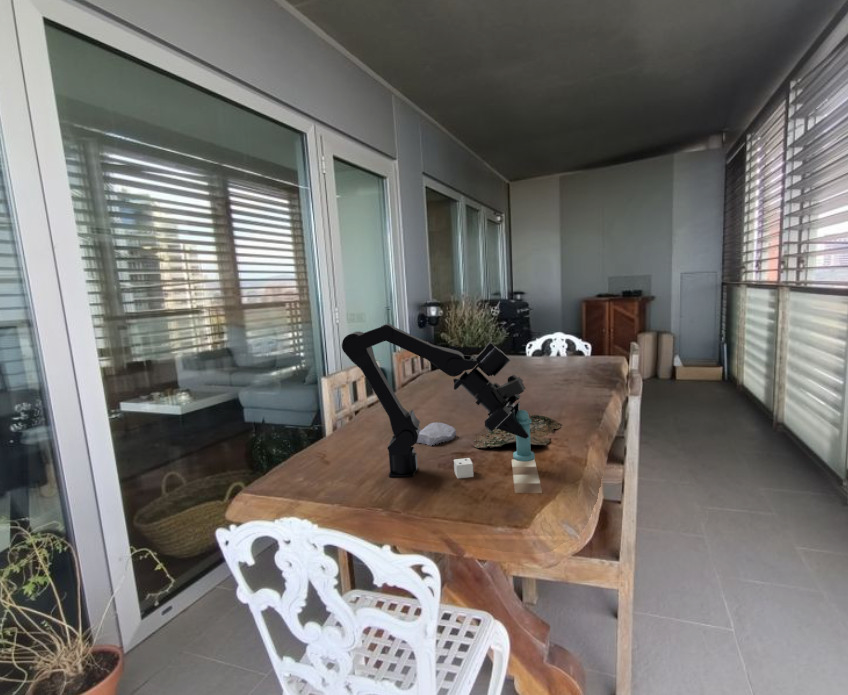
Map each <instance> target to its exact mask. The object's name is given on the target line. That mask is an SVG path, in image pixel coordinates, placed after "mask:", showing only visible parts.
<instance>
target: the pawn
mask: <svg viewBox="0 0 848 695" xmlns="http://www.w3.org/2000/svg"><path fill="white" fill-rule="evenodd" d="M516 419H517V421H518V422H519V423H520V424H521V426H522V427H523V428H524V429H525V431H526V432H527V433H528V435H529V436H528V437H527V438H526V439H525V438H522V437H520V436H517V435H516V443H515V444H516V445H515V446H516V451H514V452H513V453H512V454H513V456H512V458H513V459H515V460H517V461H522V462H527V461H532V460H534V459H536V457H535V456H536V455H535V452H534V451H532V450H531V445H532V444H531V442H530V424H531V419H530V416H529V412H528V411H527V410H525V409H519V411H518V412H517V414H516Z"/></svg>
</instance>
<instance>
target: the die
mask: <svg viewBox="0 0 848 695" xmlns="http://www.w3.org/2000/svg"><path fill="white" fill-rule="evenodd" d="M453 468H454V474H455V476H456V478H457V479H466V478H474V464H473V461H472V460H471V458H470V457H465V458H457V459H456V458H454V459H453Z"/></svg>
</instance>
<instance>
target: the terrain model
mask: <svg viewBox="0 0 848 695" xmlns="http://www.w3.org/2000/svg"><path fill="white" fill-rule="evenodd" d="M529 418H530V419H531V424H530V429H531V432H530V442H531V445H536V446H537V445H538V446H541V447H544V446H547V444H550V443H551V441H550V439H552V438H550V436H551V435H550V434H555V431H554V429H555V430H556V429H557V430H558V429H560V428H561V427H562V425H563V424H562V423H559V422H558V421H556V420H555V419H552V418H550V417H548V416H545V415H544V416H543V415H539V414H535V415H531V414H530V415H529ZM559 425H560V426H559ZM487 430H488V429H485V431H487ZM482 435H483V436H482ZM482 435H477V437H476V439H478V438H479V439H478V440H476V439H474V440H473V441H474V442H473V443H475V445H473V447H475V448H477V449H479V448H481V449H487V448H488V447H489V448H490V449H492V448H497V447H499V448H502V446H503V445H506V444H513V443H515V444H516V435H514V434H512V433H509V432H506V431H503V430H500V429H496V428H495V429H494V430H493V431H492V432H490V431H489V430H488V431H487V433H486V434H482ZM546 436H548V437H549V438H548V437H546ZM478 442H479V443H478ZM480 443H483V446H481V447H479V446H480Z"/></svg>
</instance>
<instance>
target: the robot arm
mask: <svg viewBox="0 0 848 695" xmlns="http://www.w3.org/2000/svg"><path fill="white" fill-rule="evenodd" d="M384 342H388V343H390V344H393V345H394V346H397V347H399V348H401V349H403V350H405V351H408V352H410V353H412V354H414V355H417V356H419V357H420V358H423V359H425V360H426V361H429V362H430V363H431V364H432V365H434V367H436V368H437V369H439V370H440V371H442V372H443V373H444V374H445V375H447V376H449V377H453V389H454V391H455V390H458V389H459V388H460V387H461V386H462V387H463V389H465V391H467V392H468V393H469V394H470V395H471V397H473V398H474V399H475V400H476V401H475V404H476V405H477V406H480V405H481V406H483V407H484V409H485V410H486V411H487V412H488V413H487V416H488V417H487V418H486V419H485V420H484V428H486V430H489V431H490V432H492V431H493V430H494V429H495V428H496V429H500V430H503V431H506V432H509V433H512V434H514V435H517V436H520V437H522V438H525V439H526V438H527V437H528V436H529V435H528V433H527V432H526V431H525V429H524V428H523V427H522V426H521V424H520V423H519V422H518V421H517V419H516V414H517V412H518V411H519V410H520V404H521V402H520V401H518V400H520V398H521V394H522V393H524V391H525V390H526V387H525V385H524V383H523V382H524V380H523V379H521V376H516V374H512V375H510V376H508V377H507V382H505V383H503V384H501V385H500V384H499V383H497V382H494V383H493V382H492V381H490V379H488V378H487V376H488V377H492V376H494V377H496V376H497V375H498V374H499V373H500V372H501V371H502V370H503V369H504V368H505V367H506V365H508V364H509V362H510V361H511V359H510V357H508V355H506V354H505V353H504V352H503V351H502V350H501V349H500V348H498V347H497V346H496V345H494V344H493V343H492V342H488V343H487V344H486V345H485V347H484V348H483V350H481V352H480V353H479V354H478V355H477V356H475V355H467V354H466V355H465V354H463V353H462V352H460V350H455V349H452V348H448V347H445V346H444V347H443V346H439V345H435V344H432V343H430V342H428V341H426V340H423V339H421V338H419V337H417V336H415V335H412V334H411V333H408V332H407V331H404V330H401V329H400V328H397V327H396V326H394V325H393V324H391V323H385V324H383V325H381V326H379V327H377V328H374V329H372V330H368V331H366V332H362V331H354V332H351V333H350V334H347V335H346V336H345V337H344V338H343V339H342V343H341V349H342V351H343V353H344V354H345V355H346V356H347V357H348V359H349V360H350V361H351V362H352V363H353V364H354V365H356V366H357V367H358V368H359V369H360V371H361V372H362V374H363V375H364V377H365V379H366V380H367V382H368V383H369V386H370V387H371V389H372V391H373V393H374V394H375V396H376V398H377V399H378V400H379V403H380V404H381V406H382V408H383V410H384V411H385V413H386V415H387V416H388V418H389V422H390V427H391V431H392V434H393V436H391V439H390V442H389V443H388V445H387V447H386V448H387V451H388V461H389V462H388V464H389V473H388V477H391V478H393V477H399V478H400V477H408V478H409V477H414V476H415V474H416V472H417V471H418V468H419V464H418V463H419V462H418V453H417V452H416V451H415V446H414V445H415V444H417V443H416V442H417V439H418V436H419V432H420V430H421V428H420V424H421V421H420V420H419V419H418V417H416V414H415V411H414V409H411V410H409V411H408V410H406V409H405V408H404V407H403V405H402V403H401V401H400V400H399V399H398V396H397V395H396V393H395V392H394V390H393V388H392V387H391V385H390V383H389V381H388V380H387V378H386V376H385V374H384V372H383V371H382V369H381V368H380V366H379V364H378V362H377V361H376V358H375V352H374V349H373V347H374V346H376V345H378V344H381V343H384ZM479 369H480V370H481V371H480V370H479ZM469 370H470V372H469ZM482 372H483V373H482ZM484 374H485V375H486V376H485V375H484ZM458 376H459V378H455V377H458ZM517 401H518V402H517ZM515 403H516V404H515ZM530 432H531V429H530Z"/></svg>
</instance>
